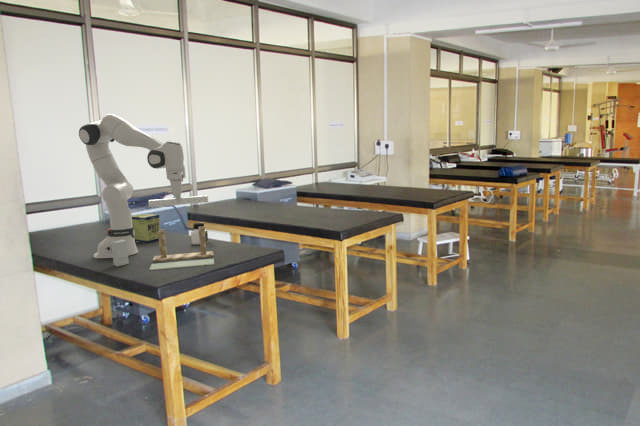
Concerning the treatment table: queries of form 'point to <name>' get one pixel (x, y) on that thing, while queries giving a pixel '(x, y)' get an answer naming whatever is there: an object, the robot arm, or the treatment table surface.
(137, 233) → the protein box
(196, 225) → the medicine bottle
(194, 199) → the aluminium rail
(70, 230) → the treatment table surface
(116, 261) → the skincare box
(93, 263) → the treatment table surface
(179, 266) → the sage mat
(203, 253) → the hook rack
